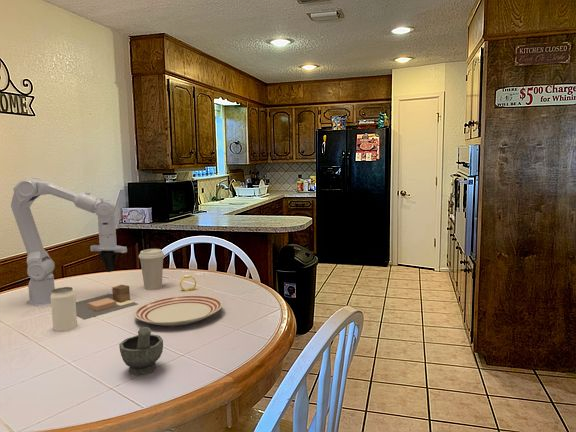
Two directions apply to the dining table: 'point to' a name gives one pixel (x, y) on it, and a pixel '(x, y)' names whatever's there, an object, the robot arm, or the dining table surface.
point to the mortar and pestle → (141, 352)
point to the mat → (88, 313)
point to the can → (63, 309)
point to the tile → (102, 304)
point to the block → (121, 293)
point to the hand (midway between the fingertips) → (110, 271)
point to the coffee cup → (152, 268)
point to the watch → (187, 277)
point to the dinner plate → (178, 310)
